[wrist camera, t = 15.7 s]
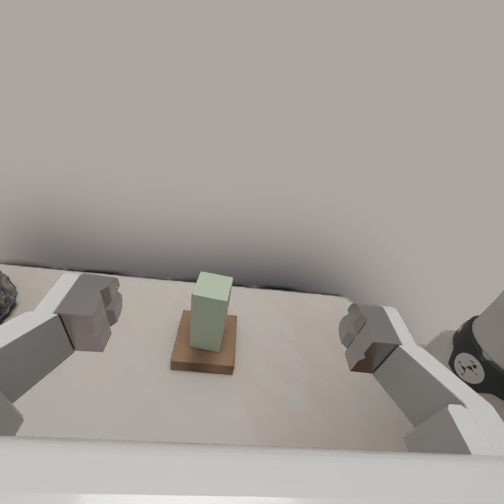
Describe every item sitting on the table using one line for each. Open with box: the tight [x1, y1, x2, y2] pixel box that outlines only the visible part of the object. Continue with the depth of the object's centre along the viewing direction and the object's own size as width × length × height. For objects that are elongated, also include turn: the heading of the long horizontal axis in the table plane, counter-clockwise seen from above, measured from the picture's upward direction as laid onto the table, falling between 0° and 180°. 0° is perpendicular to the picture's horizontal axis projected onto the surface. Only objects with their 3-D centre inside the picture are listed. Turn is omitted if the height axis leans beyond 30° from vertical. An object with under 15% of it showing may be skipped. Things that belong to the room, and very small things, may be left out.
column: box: [189, 272, 233, 352], centre depth 38 cm, size 4×4×11 cm
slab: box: [171, 310, 237, 375], centre depth 42 cm, size 9×9×3 cm
